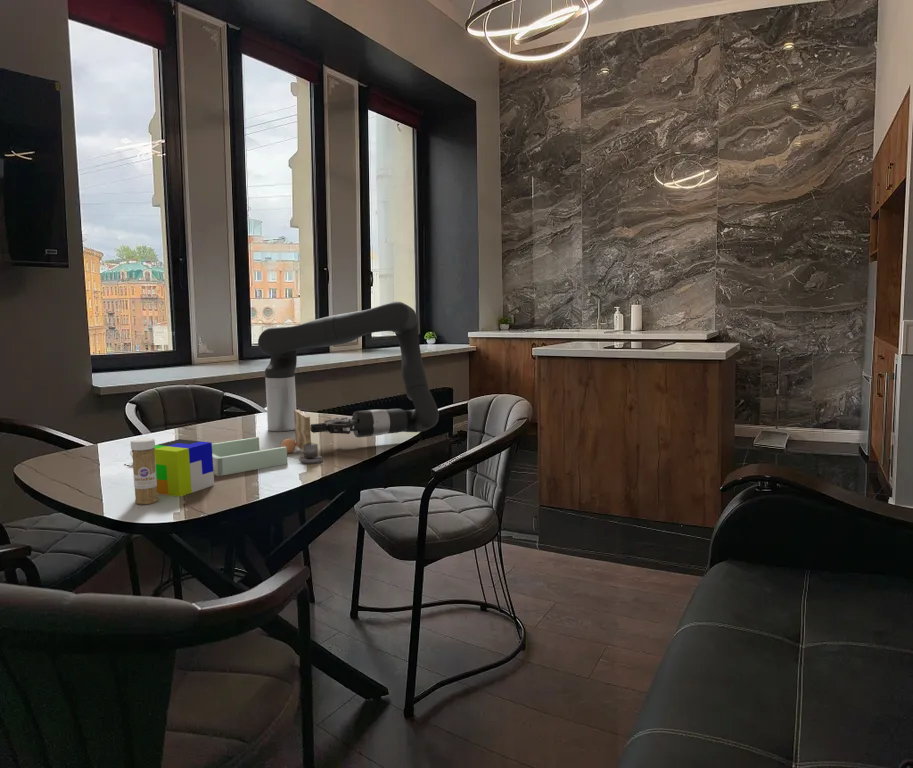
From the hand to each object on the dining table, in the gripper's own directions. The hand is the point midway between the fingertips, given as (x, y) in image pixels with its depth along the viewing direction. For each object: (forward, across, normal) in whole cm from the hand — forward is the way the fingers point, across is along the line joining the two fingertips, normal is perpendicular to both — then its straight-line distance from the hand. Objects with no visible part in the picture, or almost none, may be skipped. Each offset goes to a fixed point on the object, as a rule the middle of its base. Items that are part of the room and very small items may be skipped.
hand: (311, 428), depth 185 cm
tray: (+20, +4, +6) cm, 22 cm away
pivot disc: (+3, +12, +6) cm, 14 cm away
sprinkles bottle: (+42, +30, +7) cm, 52 cm away
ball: (+6, -1, +4) cm, 8 cm away
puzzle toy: (+35, +22, +7) cm, 42 cm away
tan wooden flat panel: (+3, +4, +5) cm, 7 cm away
